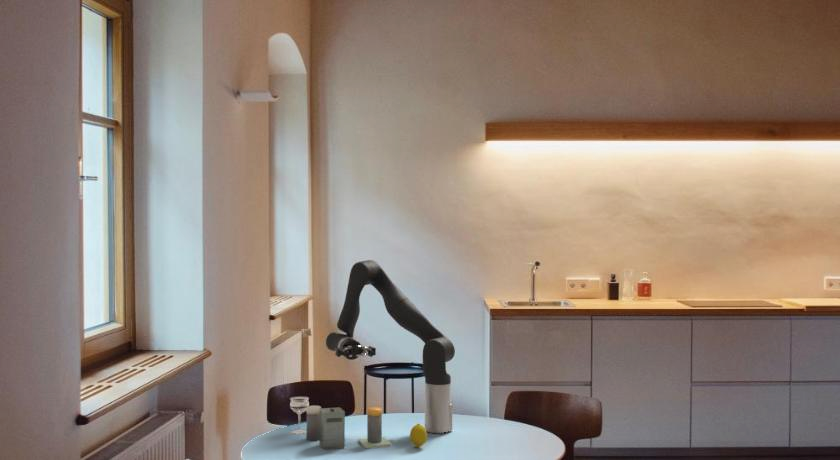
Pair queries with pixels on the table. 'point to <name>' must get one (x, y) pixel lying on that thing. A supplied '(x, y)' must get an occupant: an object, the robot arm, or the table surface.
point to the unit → (332, 428)
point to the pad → (373, 445)
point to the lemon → (418, 435)
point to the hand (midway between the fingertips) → (360, 354)
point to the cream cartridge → (313, 423)
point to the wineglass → (299, 409)
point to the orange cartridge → (374, 424)
